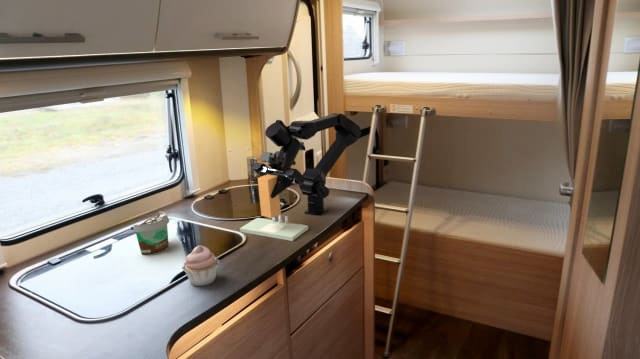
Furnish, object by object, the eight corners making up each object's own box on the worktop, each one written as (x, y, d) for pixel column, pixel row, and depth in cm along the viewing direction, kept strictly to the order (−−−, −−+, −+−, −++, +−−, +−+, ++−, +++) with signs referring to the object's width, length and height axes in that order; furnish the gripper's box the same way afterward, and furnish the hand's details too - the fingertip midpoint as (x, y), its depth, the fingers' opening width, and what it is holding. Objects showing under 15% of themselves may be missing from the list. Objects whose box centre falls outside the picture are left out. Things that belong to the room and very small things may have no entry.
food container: (155, 259, 132) (150, 227, 129) (138, 257, 134) (132, 225, 131) (181, 241, 143) (176, 212, 140) (164, 240, 145) (159, 210, 142)
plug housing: (271, 211, 148) (267, 174, 145) (280, 213, 145) (277, 176, 142) (261, 215, 145) (257, 177, 141) (271, 218, 142) (267, 179, 139)
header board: (257, 220, 156) (256, 210, 155) (308, 229, 147) (307, 218, 146) (240, 231, 148) (238, 221, 147) (292, 240, 139) (291, 229, 138)
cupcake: (199, 293, 111) (193, 257, 109) (177, 283, 117) (171, 247, 114) (229, 278, 118) (224, 243, 115) (207, 268, 124) (202, 235, 121)
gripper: (253, 138, 147) (230, 179, 142) (295, 143, 136) (273, 188, 131) (272, 156, 155) (251, 196, 150) (314, 163, 144) (293, 206, 139)
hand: (266, 196), depth 142 cm, fingers closed on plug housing, 4 cm apart
